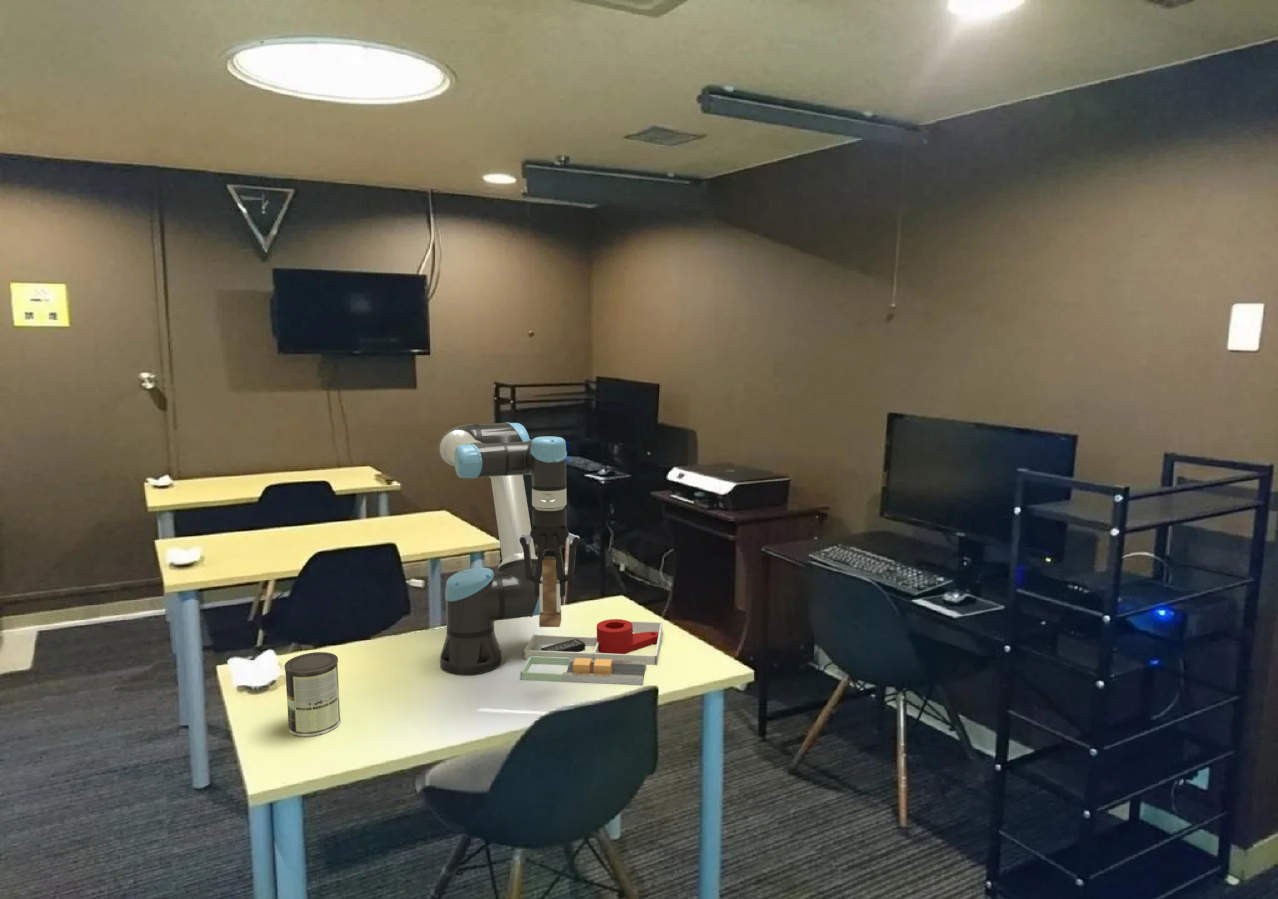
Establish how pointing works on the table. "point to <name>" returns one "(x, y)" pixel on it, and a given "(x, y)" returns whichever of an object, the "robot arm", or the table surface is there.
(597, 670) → the orange block
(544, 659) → the tray
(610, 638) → the lever
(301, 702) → the coffee can
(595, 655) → the organizer
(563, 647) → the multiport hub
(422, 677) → the table surface
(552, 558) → the wooden post on base
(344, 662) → the table surface
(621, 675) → the shallow gray tray
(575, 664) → the chip
